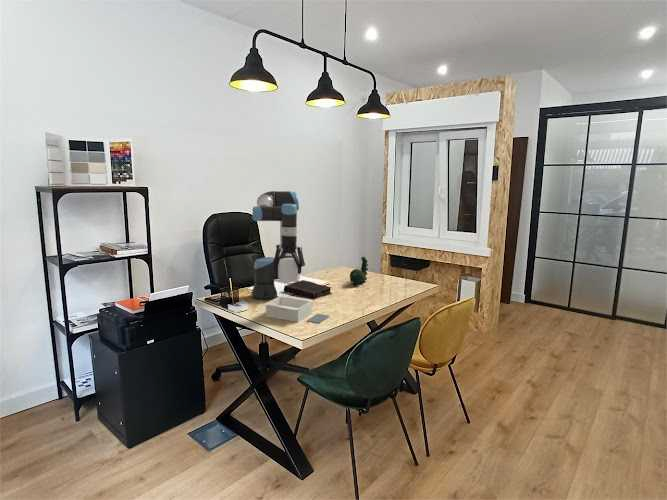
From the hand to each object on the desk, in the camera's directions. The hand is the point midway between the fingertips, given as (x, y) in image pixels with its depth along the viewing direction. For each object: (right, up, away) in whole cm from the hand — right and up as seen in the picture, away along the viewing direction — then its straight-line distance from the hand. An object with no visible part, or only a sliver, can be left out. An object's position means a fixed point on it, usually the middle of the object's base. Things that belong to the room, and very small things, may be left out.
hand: (289, 278), depth 202 cm
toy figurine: (+40, -9, +71) cm, 82 cm away
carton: (0, -19, +3) cm, 20 cm away
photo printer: (0, -2, 0) cm, 2 cm away
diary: (+7, -13, +46) cm, 48 cm away
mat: (+15, -20, -2) cm, 25 cm away
